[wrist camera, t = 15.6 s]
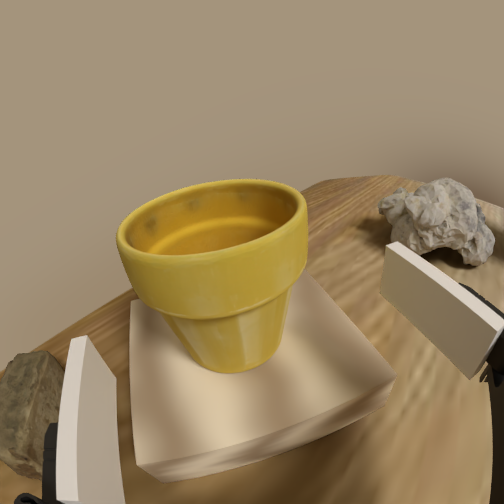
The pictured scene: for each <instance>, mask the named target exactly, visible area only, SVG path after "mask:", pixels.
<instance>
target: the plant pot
mask: <svg viewBox="0 0 504 504" xmlns="http://www.w3.org/2000/svg"><path fill="white" fill-rule="evenodd" d="M116 242H117V248H118V251H119V254H120V257H121V260H122V263H123V265H124V268H125V271H126V273H127V275H128V278H129V280H130V283H131V285H132V287H133V289H134V291H135V293H136V294H137V296H138V297H139V298H140V299H141V300H142V301H143V302H144V303H145V304H146V305H147V306H149V307H150V308H152V309H154V310H156V311H158V312H159V313H160V314H161V315H162V317H163V318H164V320H165V321H166V322H167V324H168V325H169V326H170V328H171V329H172V331H173V332H174V333H175V335H176V336H177V337H178V339H179V340H180V341H181V343H182V344H183V345H184V347H185V348H186V349H187V351H188V352H189V353H190V355H191V356H192V357H193V359H194V360H195V361H196V362H197V363H199V364H200V365H201V366H203V367H205V368H207V369H209V370H212V371H215V372H219V373H240V372H244V371H247V370H251V369H253V368H256V367H258V366H260V365H261V364H263V363H265V362H266V361H267V360H268V359H270V358H271V357H272V356H273V354H274V353H275V352H276V350H277V349H278V347H279V345H280V342H281V339H282V334H283V329H284V324H285V320H286V315H287V310H288V306H289V301H290V296H291V291H292V287H293V284H294V283H295V282H296V281H297V279H298V278H299V277H300V275H301V274H302V272H303V270H304V268H305V265H306V261H307V253H308V216H307V204H306V201H305V199H304V197H303V196H302V194H301V193H300V192H298V191H297V190H296V189H294V188H292V187H290V186H288V185H285V184H282V183H278V182H274V181H268V180H258V179H234V180H222V181H214V182H208V183H203V184H198V185H193V186H189V187H186V188H182V189H179V190H176V191H173V192H170V193H168V194H165V195H162V196H160V197H158V198H156V199H153V200H151V201H149V202H147V203H145V204H144V205H142V206H140V207H139V208H137V209H136V210H134V211H133V212H132V213H131V214H130V215H128V216H127V217H126V218H125V219H124V220H123V221H122V223H121V224H120V226H119V228H118V230H117V233H116Z"/></svg>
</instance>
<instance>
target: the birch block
mask: <svg viewBox="0 0 504 504" xmlns="http://www.w3.org/2000/svg"><path fill="white" fill-rule="evenodd" d="M396 377H397V373H396V372H395V371H394V370H393V368H392V367H391V366H390V365H389V364H388V363H387V361H386V360H385V359H384V358H383V357H382V355H381V354H380V353H379V352H378V351H377V350H376V349H375V347H374V346H373V345H372V344H371V343H370V342H369V340H368V339H367V338H366V337H365V336H364V335H363V334H362V332H361V331H360V330H359V329H358V328H357V327H356V326H355V324H354V323H353V322H352V321H351V320H350V319H349V318H348V316H347V315H346V314H345V313H344V312H343V311H342V310H341V309H340V307H339V306H338V305H337V304H336V303H335V302H334V301H333V300H332V298H331V297H330V296H329V295H328V294H327V293H326V292H325V291H324V290H323V288H322V287H321V286H320V285H319V284H318V283H317V282H316V281H315V280H314V278H313V277H312V276H311V275H310V274H309V273H308V272H307V271H306V270H305V269H304V270H303V272H302V274H301V275H300V277H299V278H298V279H297V281H296V282H295V283H294V284H293V287H292V291H291V296H290V301H289V306H288V310H287V315H286V320H285V324H284V329H283V334H282V339H281V342H280V345H279V347H278V349H277V350H276V352H275V353H274V354H273V356H272V357H271V358H270V359H268V360H267V361H266V362H265V363H263V364H261V365H260V366H258V367H256V368H253V369H251V370H247V371H244V372H240V373H219V372H215V371H212V370H209V369H207V368H205V367H203V366H201V365H200V364H199V363H197V362H196V361H195V360H194V359H193V357H192V356H191V355H190V353H189V352H188V351H187V349H186V348H185V347H184V345H183V344H182V343H181V341H180V340H179V339H178V337H177V336H176V335H175V333H174V332H173V331H172V329H171V328H170V326H169V325H168V324H167V322H166V321H165V320H164V318H163V317H162V315H161V314H160V313H159V312H158V311H156V310H154V309H152V308H150V307H149V306H147V305H146V304H145V303H144V302H143V301H142V300H141V299H137V300H133V301H131V310H130V395H131V413H132V426H133V438H134V447H135V456H136V464H137V466H139V467H140V468H142V469H143V470H144V471H146V472H147V473H149V474H150V475H152V476H153V477H155V478H156V479H157V480H159V481H161V482H162V483H169V482H175V481H181V480H186V479H192V478H197V477H201V476H206V475H210V474H215V473H219V472H223V471H227V470H231V469H234V468H238V467H241V466H245V465H248V464H252V463H255V462H258V461H261V460H264V459H267V458H270V457H273V456H276V455H279V454H282V453H284V452H287V451H290V450H292V449H295V448H297V447H300V446H302V445H305V444H307V443H310V442H312V441H315V440H317V439H319V438H321V437H324V436H326V435H328V434H330V433H333V432H335V431H337V430H339V429H341V428H343V427H345V426H347V425H349V424H351V423H353V422H355V421H357V420H359V419H361V418H363V417H365V416H366V415H368V414H370V413H372V412H374V411H376V410H377V409H379V408H381V407H383V406H384V405H385V403H386V401H387V398H388V396H389V394H390V391H391V389H392V387H393V384H394V382H395V379H396Z"/></svg>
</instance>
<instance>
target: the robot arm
mask: <svg viewBox="0 0 504 504" xmlns="http://www.w3.org/2000/svg"><path fill="white" fill-rule="evenodd" d="M380 294H381V295H382V296H383V297H384V298H385V299H387V300H388V301H389V302H390V303H391V304H392V305H393V306H394V307H395V308H396V309H397V310H398V311H400V312H401V313H402V314H403V315H404V316H405V317H406V318H407V319H408V320H409V321H410V322H411V323H412V324H413V325H414V326H416V327H417V328H418V329H419V330H420V331H421V332H422V333H423V334H424V335H425V336H426V337H427V338H428V339H429V340H430V341H431V342H432V343H433V344H434V345H435V346H436V347H437V348H438V349H439V350H440V351H441V352H442V353H443V354H444V355H445V356H446V357H447V358H448V359H449V360H450V361H451V362H452V363H453V364H454V365H455V366H456V367H457V368H458V369H459V370H460V371H461V372H462V373H463V374H464V375H465V376H466V377H467V378H468V379H469V380H470V379H471V378H472V377H474V376H475V375H476V374H477V373H478V372H479V371H480V369H481V368H482V366H483V365H484V363H485V361H486V362H487V363H488V365H487V367H486V368H485V370H484V371H483V373H482V375H481V376H480V381H479V382H482V381H483V379H484V378H485V376H486V375H487V377H486V378H485V381H484V382H488V384H489V392H490V402H491V414H492V432H493V465H492V483H491V494H490V503H489V504H504V314H503V313H502V312H501V311H500V310H499V309H497V308H496V307H495V306H494V305H492V304H491V303H490V302H489V301H487V300H485V298H483V297H482V296H481V295H478V293H477V292H476V291H474V290H473V289H472V288H470V287H468V286H466V285H464V284H461V283H457V282H455V281H454V280H453V279H451V278H450V277H449V276H447V275H446V274H444V273H443V272H442V271H440V270H439V269H437V268H436V267H435V266H433V265H432V264H430V263H429V262H427V261H426V260H425V259H423V258H422V257H420V256H419V255H417V254H416V253H414V252H413V251H411V250H410V249H408V248H407V247H405V246H404V245H402V244H401V243H399V242H398V241H397V242H394V243H391V244H389V245H386V248H385V257H384V266H383V273H382V281H381V287H380ZM43 459H44V461H43V467H42V500H41V499H39V498H37V497H35V496H33V495H31V494H29V493H22V494H20V495H19V496H18V497H17V498H16V499H15V501H14V504H125V498H124V492H123V484H122V476H121V468H120V458H119V446H118V431H117V405H116V378H115V376H114V375H113V373H112V372H111V371H110V369H109V368H108V366H107V365H106V363H105V362H104V360H103V359H102V358H101V356H100V355H99V353H98V351H97V350H96V348H95V347H94V345H93V344H92V342H91V341H90V339H89V337H88V336H87V335H86V336H82V337H78V338H73V339H71V343H70V348H69V353H68V358H67V364H66V369H65V375H64V382H63V388H62V395H61V403H60V412H59V422H56V423H50V424H49V426H48V428H47V431H46V433H45V436H44V451H43Z"/></svg>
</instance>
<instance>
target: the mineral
mask: <svg viewBox="0 0 504 504" xmlns="http://www.w3.org/2000/svg"><path fill="white" fill-rule="evenodd" d="M378 208H379V214H382V215H385V216H386V218H387V221H388V222H389V223H390V224H392V226H393V229H392V233H391V242H392V243H394V242H397V241H398V242H399V243H401V244H402V245H404V246H405V247H407V248H408V249H410V250H411V251H413V252H414V253H416V254H417V255H422V254H423V253H427V252H430V251H432V250H435V249H436V248H441V247H451V248H452V249H453V250H456V249H458V253H460V254H461V255H462V257H463V263H464V264H469V263H470V264H471V265H472V266H475V265H476V266H479V265H481V264H484V263H485V262H486V260H487V258H488V257H489V256H490V255H492V252H493V246H494V243H495V238H494V235H493V233H492V232H491V230H490V229H489V228H488V226H487V225H485V216H484V214H483V213H482V210H481V206H480V204H477V203H476V200H475V198H474V196H473V194H472V192H471V191H470V190H469V189H468V188H467V187H466V186H463V185H462V184H461V183H459V182H457V181H454V180H452V179H450V178H441V179H437V180H433V181H432V182H430V183H428V184H425V185H422V186H420V187H419V188H418V189H417V190H416V191H415V193H408V192H407V190H406V189H405V188H401V187H400V188H399V189H397V190H396V191H395V192H394V193H393V195H391V196H388V197H386V198H383V199H382V200H381V201H379V203H378Z"/></svg>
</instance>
